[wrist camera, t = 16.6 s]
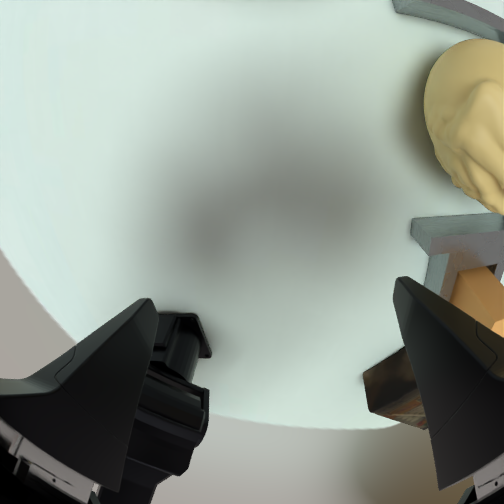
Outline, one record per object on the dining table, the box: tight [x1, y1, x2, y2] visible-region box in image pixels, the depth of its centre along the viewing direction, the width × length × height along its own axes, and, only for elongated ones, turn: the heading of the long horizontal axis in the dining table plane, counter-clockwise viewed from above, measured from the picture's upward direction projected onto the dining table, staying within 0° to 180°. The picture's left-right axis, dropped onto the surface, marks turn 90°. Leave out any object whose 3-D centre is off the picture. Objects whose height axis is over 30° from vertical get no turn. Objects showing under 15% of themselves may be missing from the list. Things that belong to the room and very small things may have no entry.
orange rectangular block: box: [449, 266, 504, 338], centre depth 18 cm, size 4×4×9 cm
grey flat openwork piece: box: [392, 0, 504, 302], centre depth 15 cm, size 29×14×4 cm, turn 9°
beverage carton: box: [363, 347, 428, 430], centre depth 28 cm, size 8×19×7 cm, turn 51°
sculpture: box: [424, 39, 504, 215], centre depth 10 cm, size 12×12×11 cm
